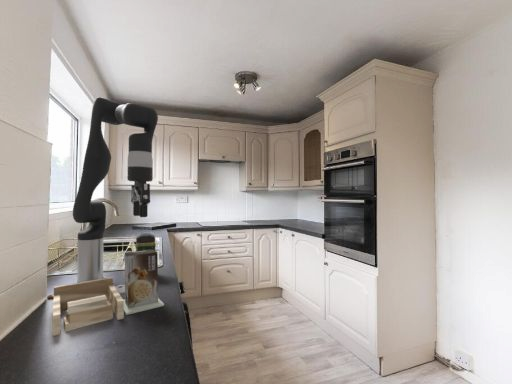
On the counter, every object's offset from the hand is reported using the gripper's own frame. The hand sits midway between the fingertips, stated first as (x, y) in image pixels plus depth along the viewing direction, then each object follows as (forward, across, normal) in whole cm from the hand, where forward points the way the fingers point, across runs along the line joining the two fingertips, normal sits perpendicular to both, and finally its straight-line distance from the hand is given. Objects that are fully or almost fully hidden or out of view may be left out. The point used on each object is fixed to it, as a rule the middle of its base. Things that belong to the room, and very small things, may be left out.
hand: (140, 216), depth 87 cm
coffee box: (+28, -1, 0) cm, 28 cm away
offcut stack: (+28, -4, +14) cm, 32 cm away
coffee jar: (+28, +32, -10) cm, 44 cm away
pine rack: (+28, +2, +14) cm, 32 cm away
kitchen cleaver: (+29, +20, +12) cm, 37 cm away
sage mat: (+28, 0, 0) cm, 28 cm away
